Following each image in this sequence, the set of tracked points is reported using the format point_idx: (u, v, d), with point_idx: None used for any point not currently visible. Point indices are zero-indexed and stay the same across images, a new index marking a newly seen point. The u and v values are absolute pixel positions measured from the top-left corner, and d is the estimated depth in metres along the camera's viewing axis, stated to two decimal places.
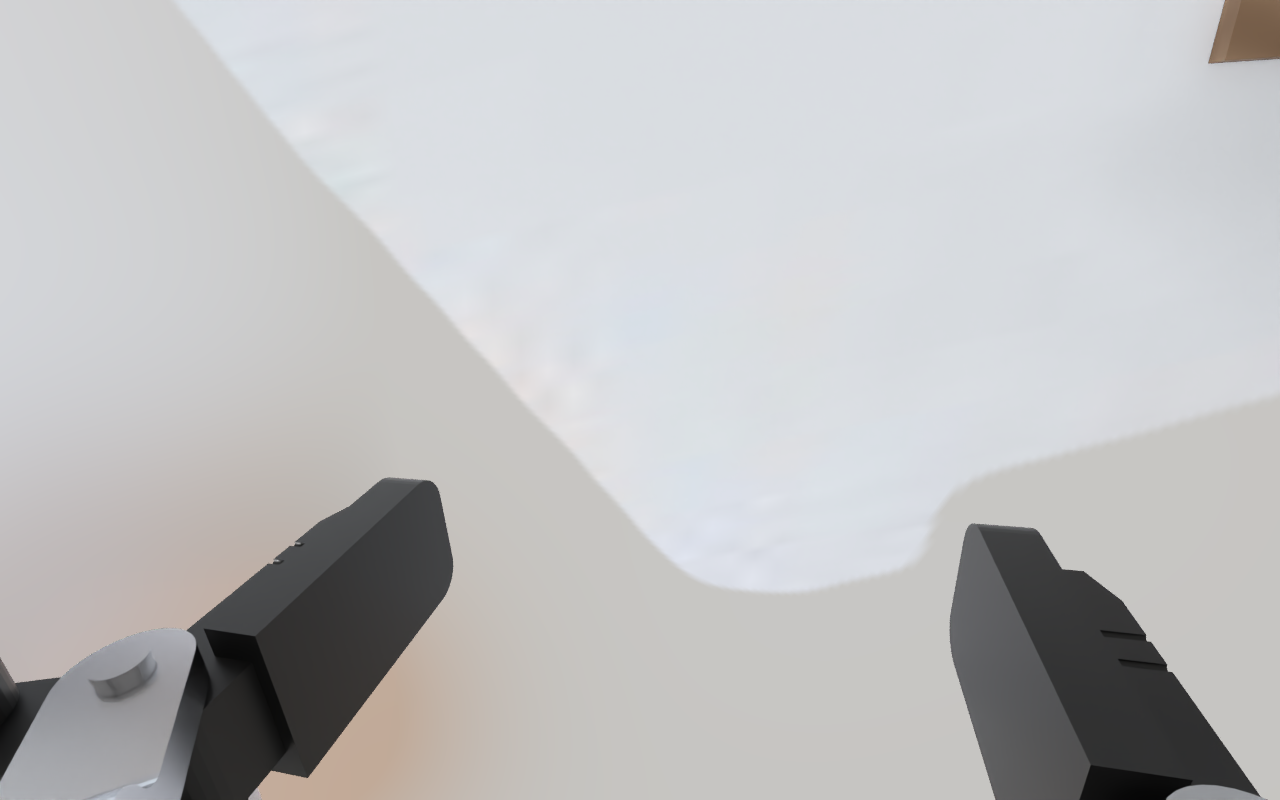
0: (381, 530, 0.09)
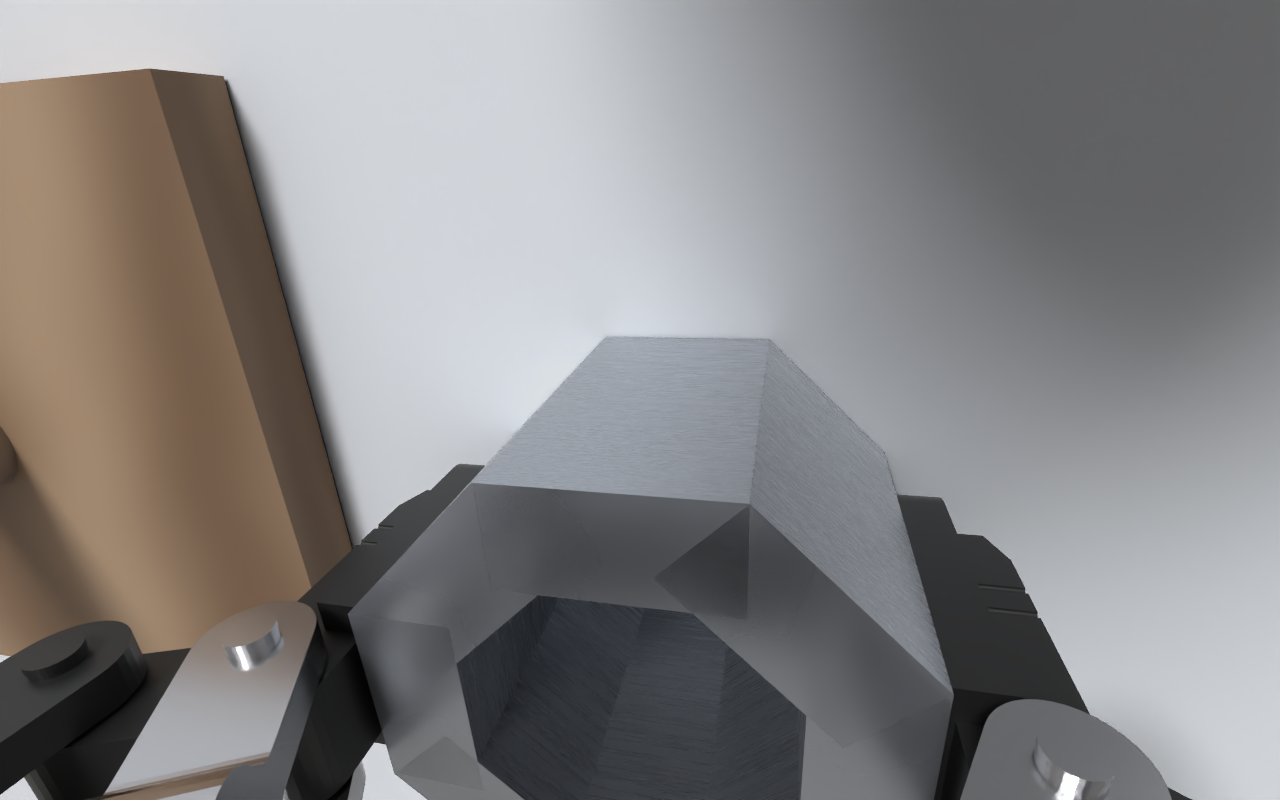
0: None
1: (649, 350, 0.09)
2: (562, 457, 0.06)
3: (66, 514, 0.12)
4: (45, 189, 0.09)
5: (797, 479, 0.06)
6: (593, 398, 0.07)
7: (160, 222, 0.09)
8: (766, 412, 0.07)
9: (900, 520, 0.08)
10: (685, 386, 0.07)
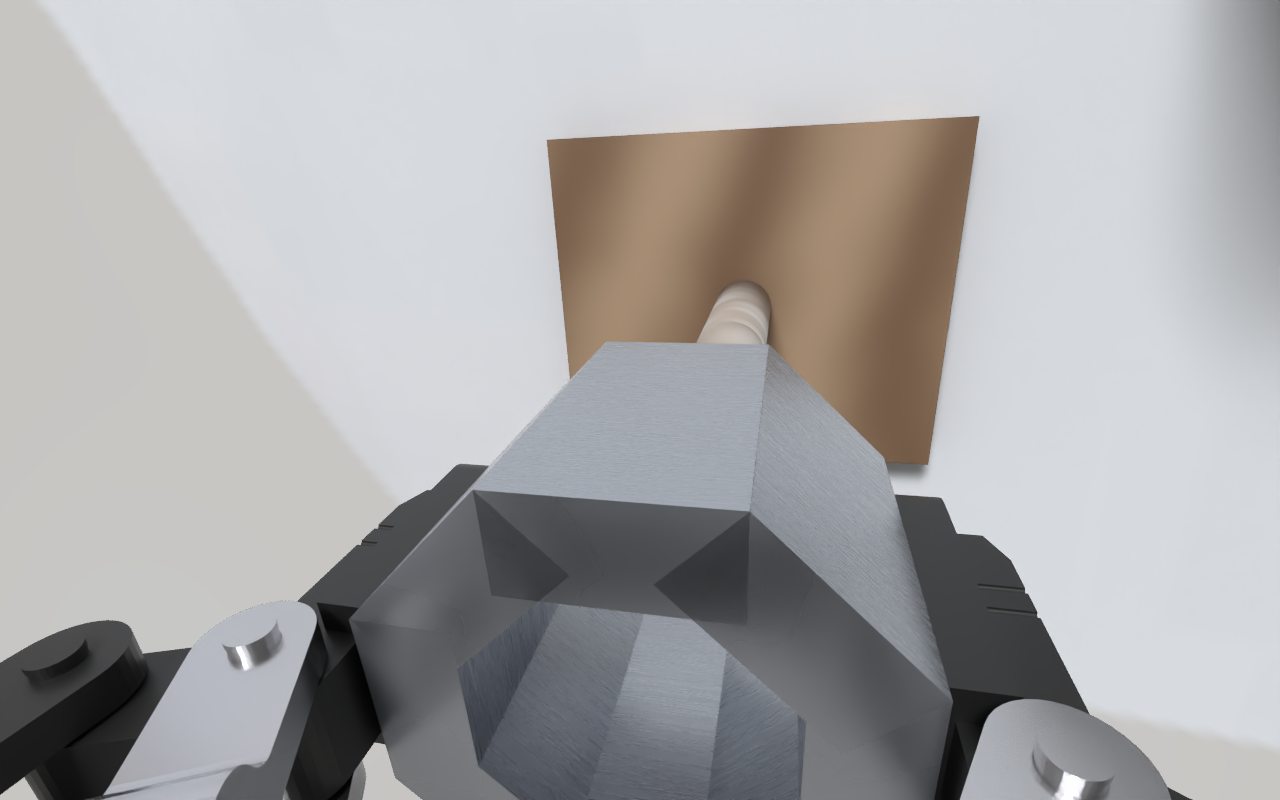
0: None
1: (649, 355, 0.09)
2: (563, 464, 0.06)
3: (785, 349, 0.23)
4: (882, 170, 0.20)
5: (796, 486, 0.06)
6: (593, 404, 0.07)
7: (946, 185, 0.20)
8: (766, 418, 0.07)
9: (899, 525, 0.08)
10: (686, 392, 0.08)
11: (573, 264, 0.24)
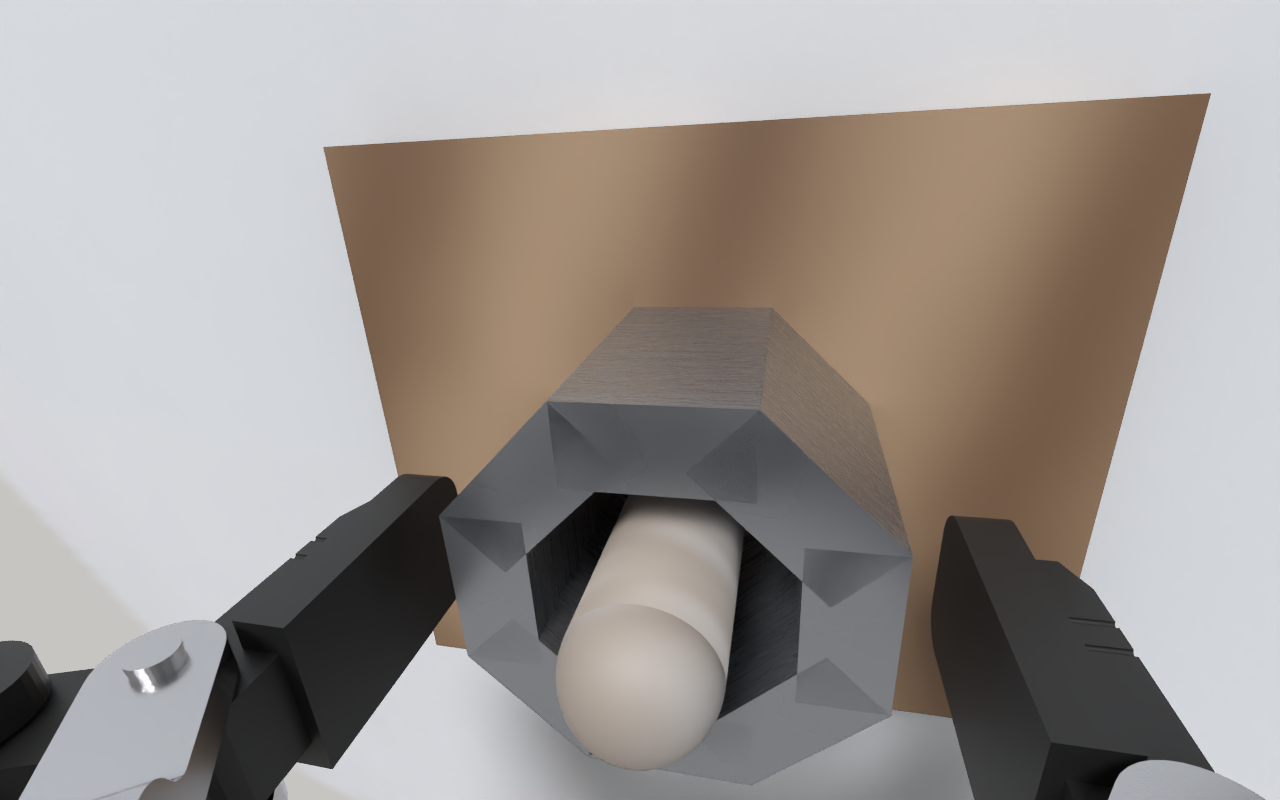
0: (402, 525, 0.09)
1: (672, 316, 0.11)
2: (613, 385, 0.08)
3: None
4: (980, 210, 0.10)
5: (795, 403, 0.08)
6: (630, 348, 0.09)
7: (1118, 243, 0.09)
8: (770, 357, 0.09)
9: (879, 449, 0.09)
10: (704, 339, 0.09)
11: (397, 370, 0.13)
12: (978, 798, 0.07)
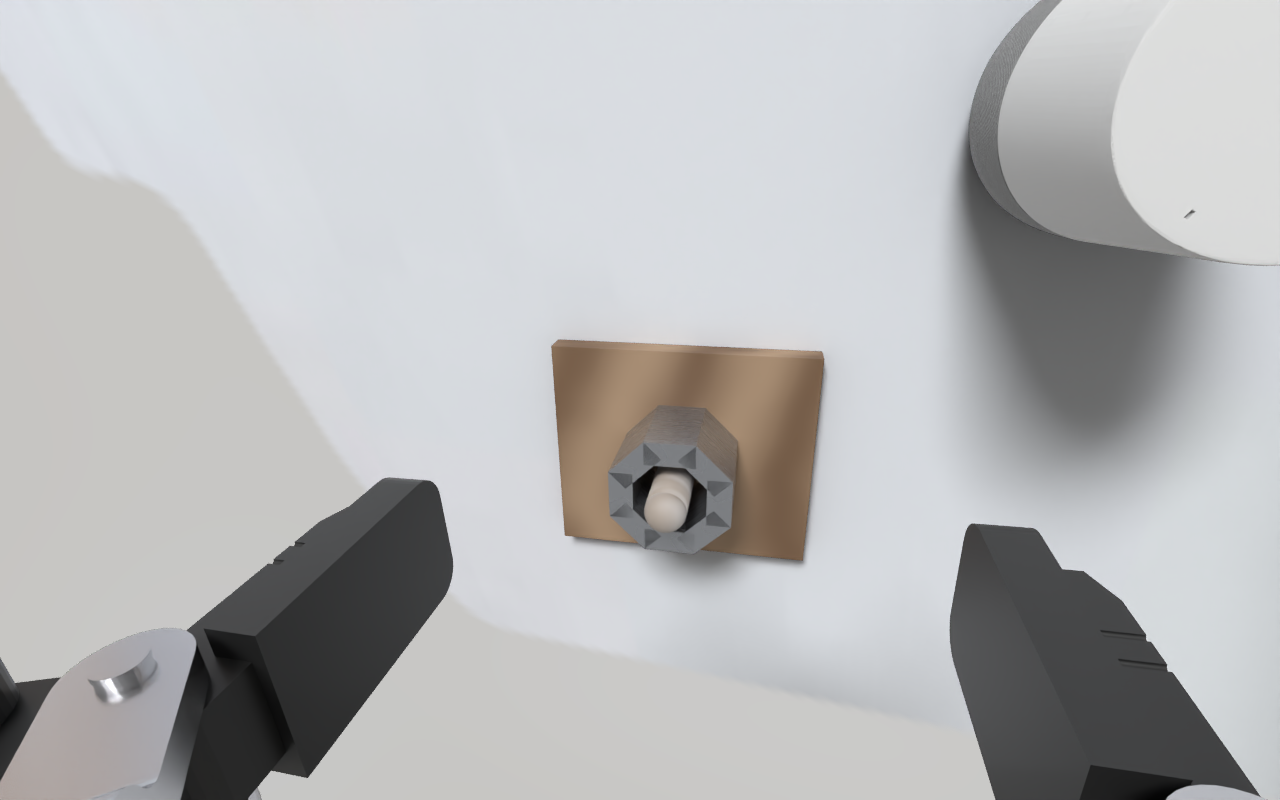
0: (381, 530, 0.09)
1: (672, 410, 0.32)
2: (659, 437, 0.29)
3: None
4: (767, 383, 0.31)
5: (707, 443, 0.30)
6: (661, 424, 0.31)
7: (806, 395, 0.31)
8: (701, 429, 0.30)
9: (734, 455, 0.31)
10: (683, 422, 0.31)
11: (566, 421, 0.34)
12: None
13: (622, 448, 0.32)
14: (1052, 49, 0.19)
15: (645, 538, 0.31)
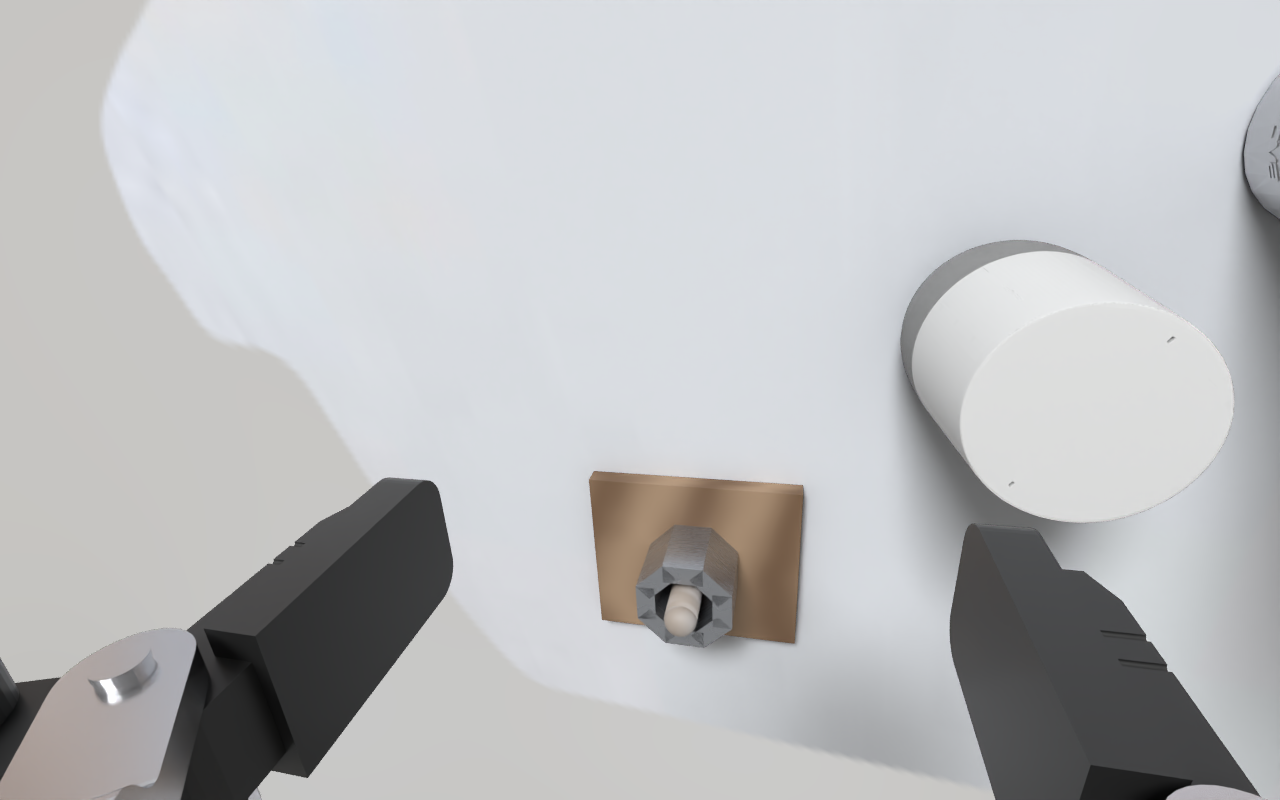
0: (381, 530, 0.09)
1: (685, 530, 0.41)
2: (674, 561, 0.38)
3: None
4: (759, 511, 0.40)
5: (711, 564, 0.38)
6: (676, 547, 0.39)
7: (790, 521, 0.40)
8: (707, 551, 0.39)
9: (734, 569, 0.40)
10: (693, 544, 0.40)
11: (601, 535, 0.43)
12: None
13: (646, 563, 0.40)
14: (938, 335, 0.27)
15: (666, 635, 0.40)
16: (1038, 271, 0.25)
